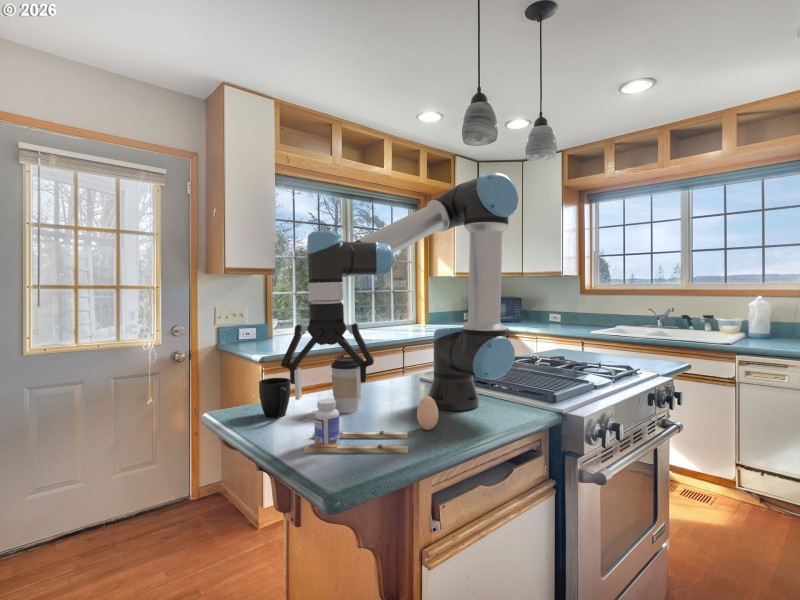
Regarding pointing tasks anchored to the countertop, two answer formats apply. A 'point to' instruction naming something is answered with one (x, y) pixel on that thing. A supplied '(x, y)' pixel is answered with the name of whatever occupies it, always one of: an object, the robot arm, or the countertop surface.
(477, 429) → the countertop surface
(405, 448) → the beam track
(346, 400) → the coffee cup
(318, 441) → the pill bottle
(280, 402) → the mug
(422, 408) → the egg
